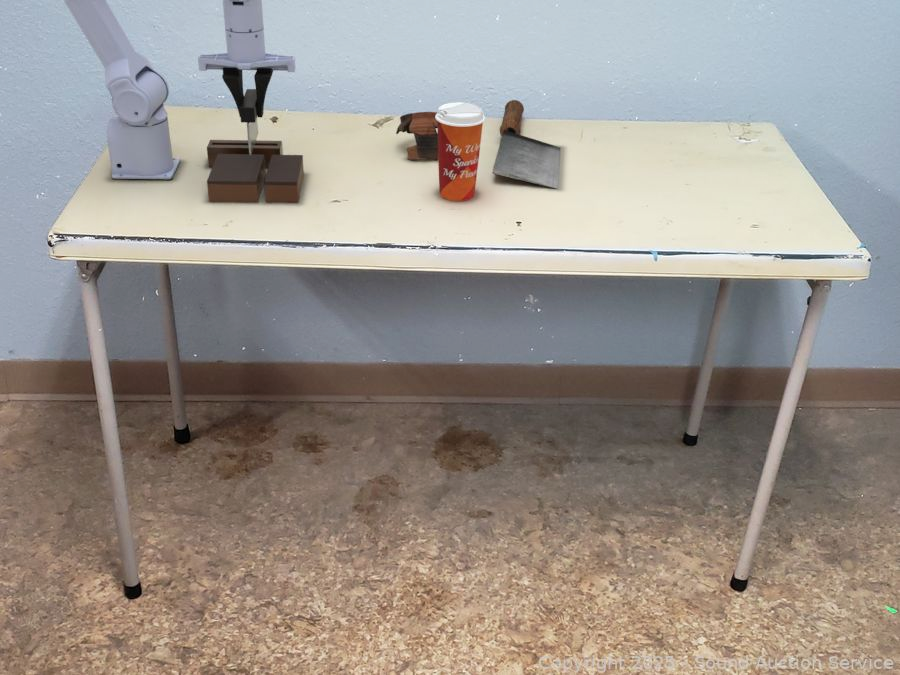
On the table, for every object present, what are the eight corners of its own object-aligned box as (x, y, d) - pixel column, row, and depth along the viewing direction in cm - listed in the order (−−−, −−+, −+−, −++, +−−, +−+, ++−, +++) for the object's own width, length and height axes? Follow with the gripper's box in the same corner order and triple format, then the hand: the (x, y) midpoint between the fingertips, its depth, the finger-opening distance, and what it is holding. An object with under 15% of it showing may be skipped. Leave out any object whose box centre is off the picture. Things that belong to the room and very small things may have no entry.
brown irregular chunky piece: (390, 162, 165) (387, 114, 164) (410, 168, 174) (407, 122, 173) (456, 153, 161) (452, 104, 160) (473, 160, 170) (469, 113, 169)
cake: (209, 201, 147) (206, 180, 146) (219, 173, 157) (217, 153, 155) (258, 202, 148) (256, 181, 146) (265, 174, 157) (264, 154, 155)
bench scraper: (250, 132, 158) (247, 87, 154) (264, 133, 158) (260, 88, 154) (243, 155, 150) (239, 108, 145) (257, 155, 150) (253, 108, 146)
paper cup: (446, 207, 149) (449, 120, 141) (424, 188, 154) (426, 104, 147) (490, 199, 152) (495, 114, 144) (467, 181, 158) (471, 98, 150)
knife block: (208, 167, 159) (206, 147, 157) (212, 159, 162) (210, 139, 160) (281, 168, 160) (280, 148, 158) (283, 160, 163) (282, 140, 161)
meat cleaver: (558, 188, 156) (561, 165, 154) (489, 183, 157) (491, 160, 155) (561, 121, 185) (563, 101, 183) (503, 117, 186) (505, 97, 184)
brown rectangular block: (265, 202, 148) (264, 181, 146) (273, 174, 157) (271, 154, 155) (298, 202, 148) (297, 181, 146) (303, 174, 158) (302, 154, 156)
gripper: (191, 34, 140) (201, 123, 147) (290, 36, 141) (295, 124, 148) (198, 21, 146) (208, 108, 153) (294, 23, 147) (299, 109, 154)
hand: (251, 115), depth 151 cm, fingers closed on bench scraper, 2 cm apart
